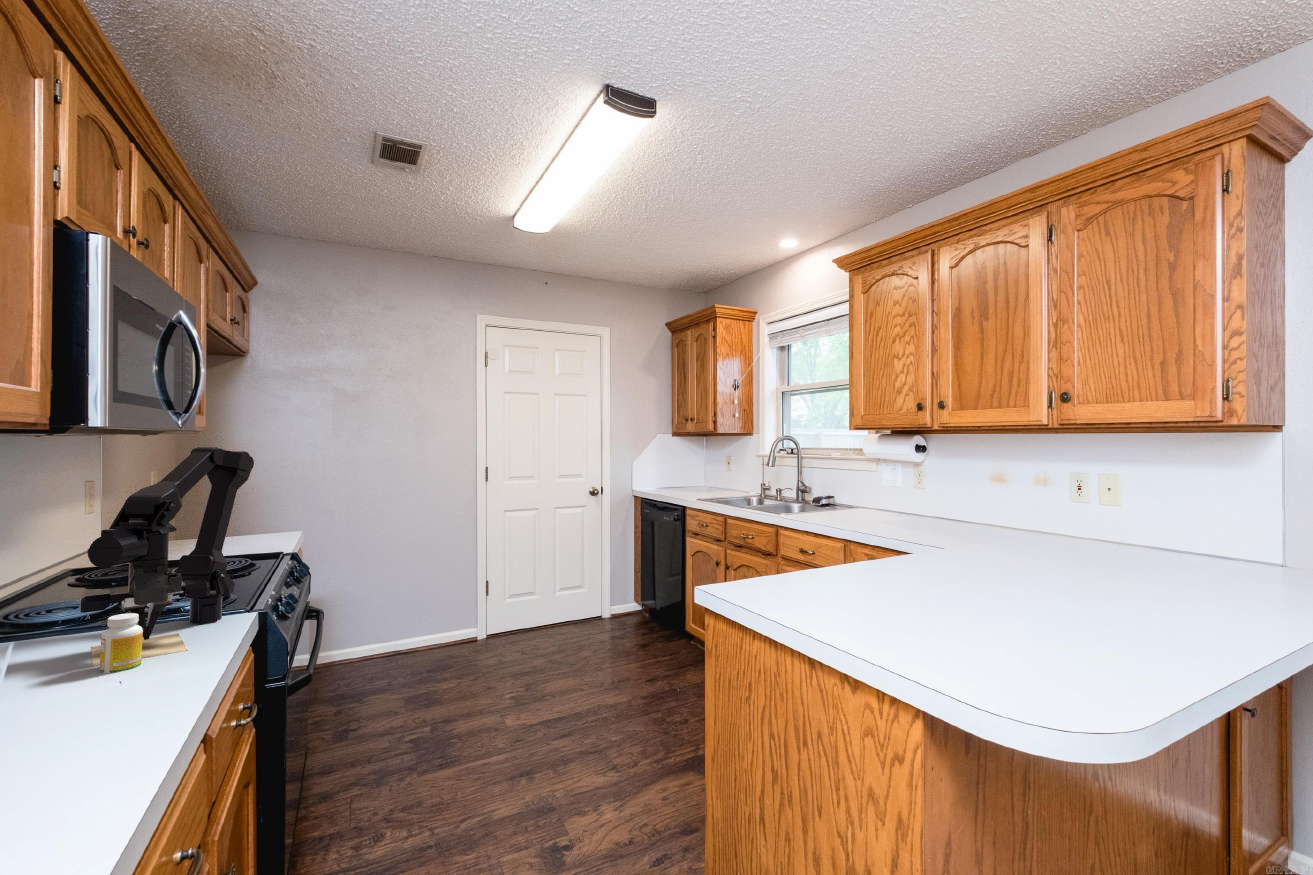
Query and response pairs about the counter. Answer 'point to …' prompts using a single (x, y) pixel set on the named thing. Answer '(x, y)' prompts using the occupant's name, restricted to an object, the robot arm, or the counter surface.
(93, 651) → the plywood panel
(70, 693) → the counter surface
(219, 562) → the robot arm
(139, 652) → the supplement bottle
